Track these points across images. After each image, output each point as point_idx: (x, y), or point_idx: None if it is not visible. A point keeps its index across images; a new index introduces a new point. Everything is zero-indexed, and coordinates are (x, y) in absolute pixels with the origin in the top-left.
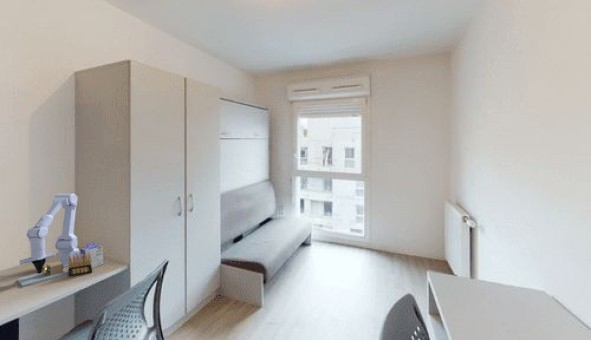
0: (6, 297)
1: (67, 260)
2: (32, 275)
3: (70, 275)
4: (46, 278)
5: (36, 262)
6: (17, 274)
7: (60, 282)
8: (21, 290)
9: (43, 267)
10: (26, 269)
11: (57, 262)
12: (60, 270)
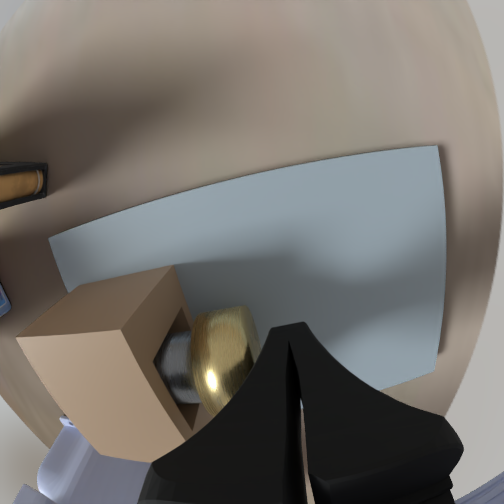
0: (475, 28)
1: (98, 456)
2: None
3: (29, 162)
4: (212, 186)
5: (384, 489)
6: None
7: (104, 47)
8: (421, 72)
9: None
10: None
11: (93, 430)
12: (78, 295)
